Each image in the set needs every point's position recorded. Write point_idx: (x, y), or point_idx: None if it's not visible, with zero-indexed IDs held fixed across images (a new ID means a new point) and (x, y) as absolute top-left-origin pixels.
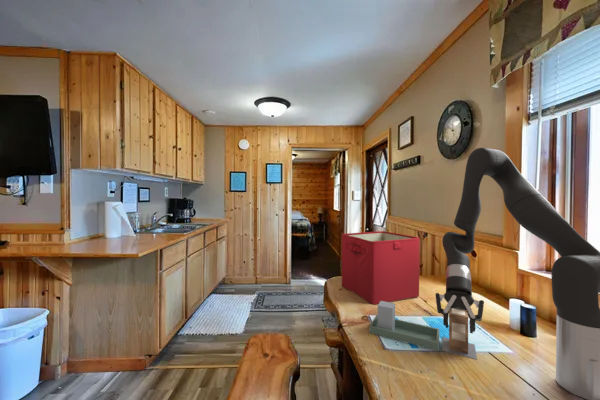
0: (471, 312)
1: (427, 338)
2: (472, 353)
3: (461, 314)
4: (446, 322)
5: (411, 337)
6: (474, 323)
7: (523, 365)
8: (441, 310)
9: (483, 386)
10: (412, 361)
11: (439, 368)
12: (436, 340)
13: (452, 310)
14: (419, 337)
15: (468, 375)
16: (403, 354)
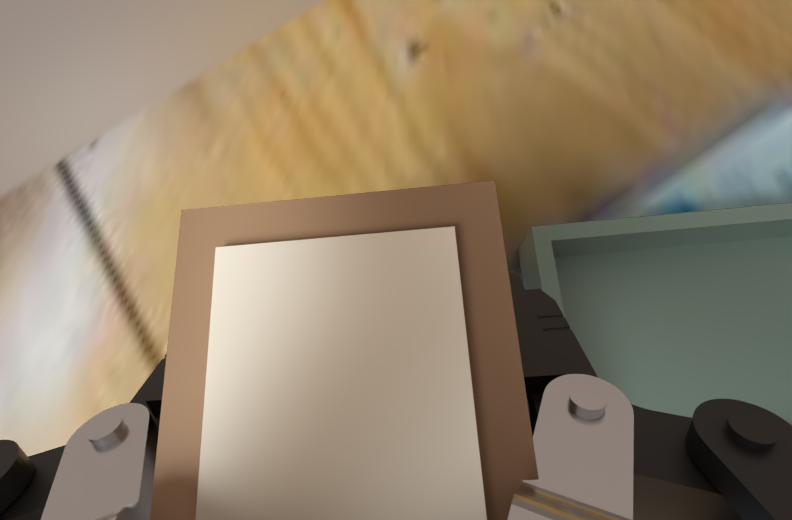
0: (72, 514)
1: (636, 391)
2: None
3: (279, 247)
4: (511, 284)
5: (744, 208)
6: (159, 376)
7: (38, 405)
8: (674, 440)
9: (284, 70)
10: (621, 60)
11: (478, 85)
12: (553, 260)
13: (451, 365)
14: (688, 227)
15: (342, 112)
16: (695, 94)
